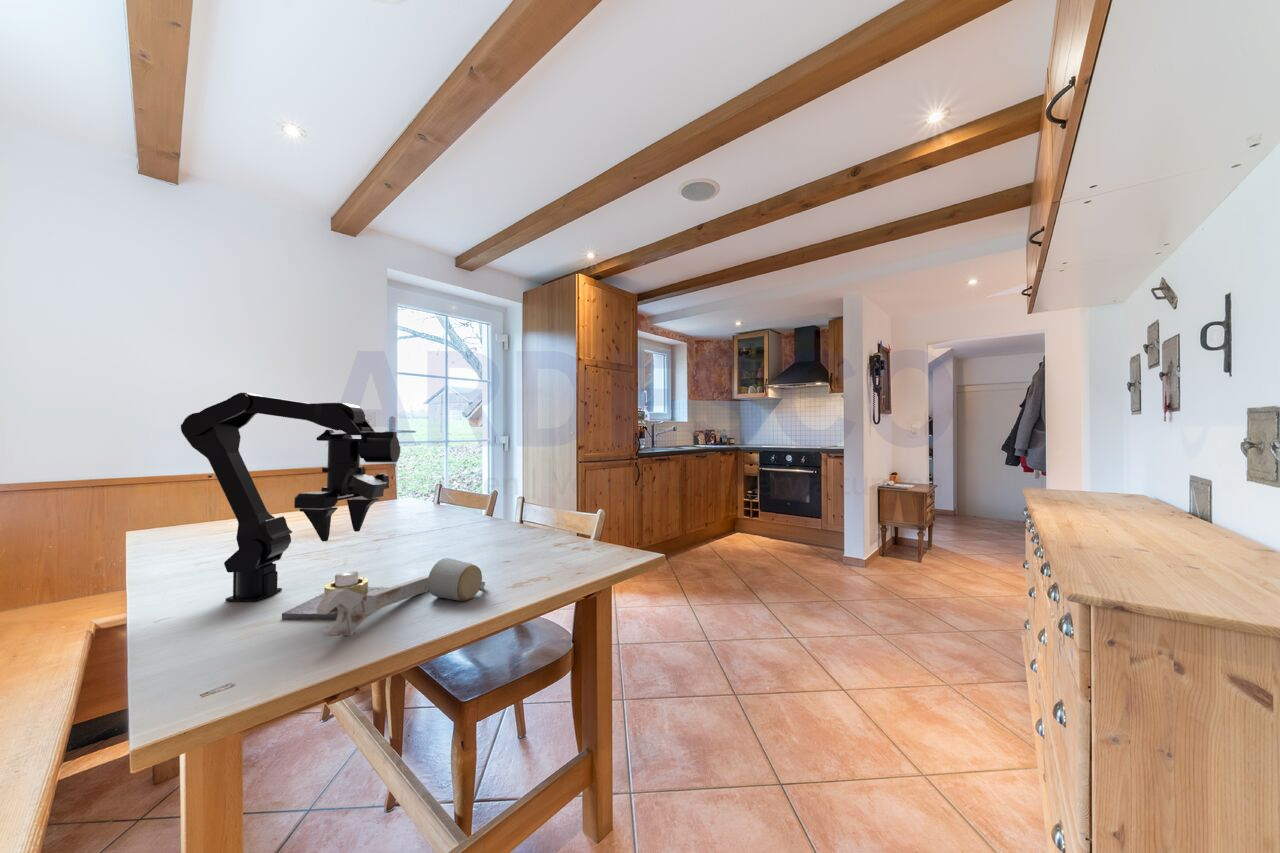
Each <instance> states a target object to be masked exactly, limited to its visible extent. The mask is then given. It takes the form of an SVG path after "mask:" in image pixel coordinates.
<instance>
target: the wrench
mask: <svg viewBox="0 0 1280 853" xmlns="http://www.w3.org/2000/svg"><path fill="white" fill-rule="evenodd" d="M428 578H429V574H427V575H426V574H425V575H423V576H420V577H417V578H414V579H410V580H408V581H405V582H403V583H400V584H396V585H393V586H390V588H387V589H384V590H381V591H378V592H375V593H372V594H369V595H362V594H359V593H356V592H353V591H351V590H347V589H336V590H333V591H331V592H329V593H328V594H327V595H326V596H325V597H324V598H323V599H322V601H321V602H320V604H319V606H318V608H317V614H327V613H329V612H330V611H331V610H332V609H333V608H335V607H337V610H338V616H337V619H336V620H335V621H332V622H331V623H330V624H328V625H327V626H326V627H325V628H324V629H323V630H322V634H323V636H325V637H326V636H327V637H333V638H334V637H341V636H346V635H349V637H353V635H354V633H355V631H356V630H357V628H358V627H359V625H360V624H361V623H362V622H363V621H364V619H365V618H366V617H368V616H369V615H370V614H371V613H372V612H374V611H377V610H380V609H382V608H385V607H387V606H390V605H393V604H396V603H399V602H402V601H404V600H407V599H409V598H412V597H415V596H417V595H421V594H424V593H426V592H428V590H429V589H428Z"/></svg>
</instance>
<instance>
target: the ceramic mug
mask: <svg viewBox="0 0 1280 853" xmlns="http://www.w3.org/2000/svg"><path fill="white" fill-rule="evenodd" d="M428 575H429V578H428V589H429V593H430V595H432V596H434V597H437V598H443V599H448V600H454V601H459V602H460V601H461V602H463V601H469V600H471V599H472V598H474V597H475V596H476V595H477V593H478V592H479V590H484V589H485V585H486V581H483V574H482V571H481V568H480V567H479V566H477V565H475V564H473V563H471V562H466V561H462V560H458V559H453V558H449V557H444V558H441V559H439V560H438V561H436V563H435V564H434V565H433V566H432V568H431V569H430V572H429V574H428Z"/></svg>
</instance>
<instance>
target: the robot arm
mask: <svg viewBox="0 0 1280 853" xmlns="http://www.w3.org/2000/svg"><path fill="white" fill-rule="evenodd" d="M257 414H258V415H259V414H261V415H268V416H274V417H281V418H288V419H289V418H290V419H295V420H302V421H308V422H310V423H313V424H316V425H318V426H321V427H325V428H328V429H325V430H324V431H323V433H321V434H320V435H319V436H317V437H316V441H319V442H321V441H323V442H325V441H326V442H327V467H322V470H321V472H322V473H326V474H327V475H326V486H323V487H321V491H315V490H314V491H308V492H307V491H306V492H300V493H298V494H297V495H296V496H295V497H294V502H293V504H294V505H293V508H294V509H299V512H303V513H304V515H305V516H306V518H307V519H308V520H309V522H310V523H311V525H312V527H313V528H314V529H315V530H314V531H315V532H316V534H317V535H318V537H319V539H320V541H321V542H328V541H329V539H330V538H329V537H330V532H331V521H332V516H333V514H334V513H335V512H336V511H337V510H338V507H337V506H336V505H337V503H338V501H343V500H344V501H345V500H346V501H347V507H348V512H349V516H350V522H351V526H352V529H353V531H354V532H360V531H361V528H362V527H363V524H364V521H365V518H366V516H367V513H368V512H369V510H370V507H372V505H374V504H375V503H376V502H379V500H380V498H381V497H384V491H385V490H388V489H389V488H390V485H389V484H390V476H389V475H388V474H387V473H384V472H382V473H376V475H369V474H366V468H365V466H361V462H360V460H361V459H363V461H364V462H365V463H377V464H378V463H392V464H393V463H397V462H398V461H399V459H400V455H401V445H400V441H399V438H398V437H397V436H398V435H397V431H392V430H389V431H375V430H374V428H373V427H372V426H371V425H370V423H369V422H368V421H367V420H366V414H365V412H364V410H363V409H362V407H360V406H359V405H357V404H352V403H346V402H345V403H344V402H343V403H342V402H316V403H311V402H302V401H296V400H290V399H285V398H284V399H283V398H276V397H270V396H269V397H268V396H262V395H260V394H257V393H250V392H239V393H236V394H234V395H232V396H231V397H229V398H227V399H225V400H223V401H221V402H218V403H216V404H214V405H211V406H208V407H206V408H204V409H202V410H200V411H199V412H193V413H190V414H189V415H187V416H186V417H185V418H184V420H183V422H182V423H181V424H180V431H181V433H182V435H183V437H184V438H185V439H186V441H187V442H188V443H189V445H190V446H191V447H192V448H193V449H195V450H196V451H197V452H199V453H200V454H201V455H202V456H204V457H205V458H206V459H207V460H208V462H209V465H210V466H211V468H212V471H213V473H214V474H215V477H216V479H217V481H218V483H219V486H220V488H221V489H222V491H223V493H224V496H225V498H226V500H227V503H228V504H229V506H230V508H231V510H232V512H233V515H234V516H235V519H236V521H237V524H238V526H237V531H236V537H235V538H236V542H237V547H238V549H237V550H236V551H235V552H233V554H231V556H230V557H228V559H226V560H225V561H224V562H223V565H224V567H225V569H226V570H225V571H226V572H227V573H232V574H233V575H232V577H233V580H232V595H231V596H228V597H226V598H225V602H258V601H260V600H263V599H265V598H267V597H270V596H272V595H274V594H278V593H279V592H282V591H283V588H282V587H278V573H279V572H278V571H277V564H276V563H274V562H276V561H281V558H282V556H283V555H284V552H285V551H287V549H288V548H289V546H290V544H291V543H292V538H291V534H293V531H292V530H291V529H290V528H289V527H288V524H287V520H286V518H285V516H283V515H281V516H278V517H275V516H274V515H272V514H270V513H269V511H268V510H267V508H266V506H265V504H264V502H263V500H262V497H261V495H260V493H259V491H258V489H257V487H256V484H255V483H254V480H253V478H252V476H251V474H250V472H249V470H248V468H247V466H246V463H245V462H244V460H243V458H242V455H241V453H240V443H241V433H240V429H241V428H243V427H244V426H246V425H248V423H249V422H250V421H251V420H253V418H254V417H255V415H257ZM335 431H342V433H341V432H337V433H336V432H335ZM343 432H344V433H343ZM353 436H360V438H353Z"/></svg>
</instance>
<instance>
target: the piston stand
mask: <svg viewBox="0 0 1280 853" xmlns="http://www.w3.org/2000/svg"><path fill="white" fill-rule="evenodd" d="M358 577H359V571H357V570H345V571H341V572H337V573H336V574H335V575H334V581H335V588H342V587H350V586H353V585H357V584H358ZM390 587H391V586H390ZM390 587H386V586H384V587H383V586H380V587H379V586H378V587H377V586H376V587H375V586H374V587H372V586H371V587H370V586H368V594H366V595H369V594H372V593H375V592H378V591H381V590H384V589H387V588H390ZM323 598H324V592H323V593H322V594H318V596H316V597H313V598H311V599H309V600H307V601H304V602H303V603H301V604H299V605H297V606H295V607H292V608H291V609H288V610H286V611H284V612H282V613H281V620H316V619H329V620H330V621H332V620H335V621H336V619H337V616H338V610H337V607H335V608H333V609H332V610H331V611H330V612H329V613H327V614H317V608H318V606H319V604H320V602H321V601H322V599H323Z"/></svg>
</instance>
